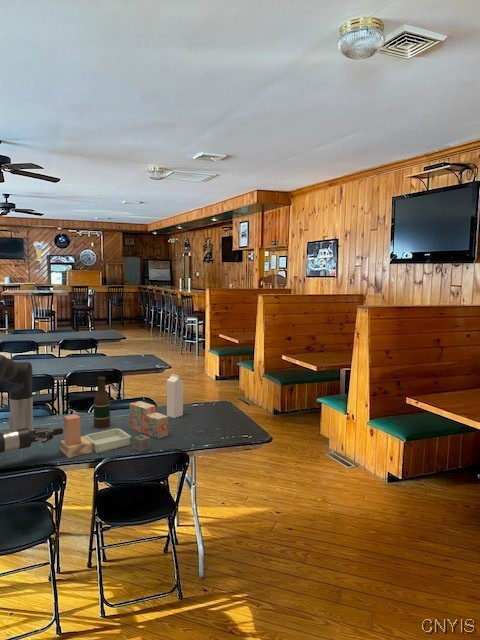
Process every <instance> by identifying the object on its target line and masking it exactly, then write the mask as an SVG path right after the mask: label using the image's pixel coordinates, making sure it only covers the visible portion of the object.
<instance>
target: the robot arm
mask: <svg viewBox="0 0 480 640" xmlns="http://www.w3.org/2000/svg"><path fill="white" fill-rule="evenodd" d="M2 381H3V382H7V383H10V384H18V383H20V384H22V386H21V387H18V388H16V389H13V390H11V391H10V392H9V410H10V412H9V413H10V414H9V416H8V428H9V429H8V431H5V432H0V454H1V453H5V452H13V451H18V450H22V449H28V448H30V447H31V446H32V443H39V442H41V443H42V444H45V443H47V442H48V441H50V440H53V439H54V436H58V435H64V428H62V427H58V428H50V427H34V413H33V412H34V407H33V405H34V404H33V401H34V400H33V366H32V362H29V361H23V362H22V361H17V362H16V361H15V360H13V359H12V358H9V357H6V356H5V355H3V354H0V384H1V383H2Z"/></svg>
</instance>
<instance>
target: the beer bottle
mask: <svg viewBox="0 0 480 640" xmlns="http://www.w3.org/2000/svg"><path fill="white" fill-rule="evenodd" d="M106 390H107V389H106V377H105V376H98V377H97V393H96V395H95V397H94V400H93V424H94V425H93V426H94V428H97V429H105V428H109V427H110V425H111V400H110V397H109V395H108V394H107V391H106Z"/></svg>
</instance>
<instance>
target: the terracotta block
mask: <svg viewBox="0 0 480 640" xmlns="http://www.w3.org/2000/svg"><path fill="white" fill-rule="evenodd" d="M81 429H82V427H81V417H80V415H78V414H76V413H74V414H69V415H65V416H63V436H64V439H63V440H64V442H65V443H66V444H67V445H68V446H70V445H75V444H79V443H81V436H82V431H81Z"/></svg>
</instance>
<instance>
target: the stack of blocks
mask: <svg viewBox="0 0 480 640" xmlns="http://www.w3.org/2000/svg"><path fill="white" fill-rule="evenodd" d="M129 428H130V429H132V430H133V431H136V432H139V433H142V434H143V435H146V436H148V437H150V438H151V437H152V438H154V439H159V440H160V439H162V438H165V437H168V436H169V416H167V414H163V413H159V412H157V406H156V405H154V404H151V403H148V402H144V401H141V400H139V401H136V402H131V403H129Z"/></svg>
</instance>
